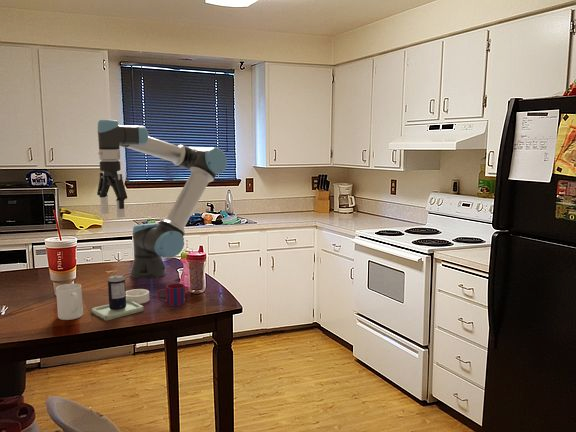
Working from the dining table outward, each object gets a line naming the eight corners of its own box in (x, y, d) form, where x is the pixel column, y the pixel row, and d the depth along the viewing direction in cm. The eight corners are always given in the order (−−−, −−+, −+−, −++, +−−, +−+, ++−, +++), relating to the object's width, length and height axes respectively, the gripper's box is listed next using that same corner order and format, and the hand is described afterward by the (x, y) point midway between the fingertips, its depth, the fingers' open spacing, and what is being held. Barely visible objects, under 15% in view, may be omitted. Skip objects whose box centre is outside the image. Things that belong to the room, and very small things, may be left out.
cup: (186, 305, 187) (186, 287, 186) (158, 308, 183) (158, 290, 182) (183, 299, 193) (182, 282, 192) (156, 303, 189) (155, 285, 188)
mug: (55, 315, 176) (53, 286, 174) (78, 310, 181) (77, 282, 179) (65, 325, 166) (63, 294, 165) (90, 320, 171) (88, 290, 170)
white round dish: (141, 295, 199) (141, 287, 198) (154, 300, 192) (153, 292, 192) (119, 300, 192) (118, 292, 192) (131, 306, 186) (130, 298, 185)
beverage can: (129, 307, 182) (127, 274, 180) (121, 312, 176) (119, 279, 174) (114, 306, 183) (113, 273, 181) (106, 311, 177) (104, 278, 176)
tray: (128, 303, 188) (128, 299, 188) (143, 310, 181) (143, 306, 180) (91, 312, 179) (91, 308, 178) (105, 320, 171) (105, 316, 171)
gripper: (86, 160, 202) (89, 213, 205) (115, 162, 184) (118, 220, 187) (104, 159, 207) (107, 211, 210) (134, 161, 189) (137, 217, 193)
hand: (112, 215), depth 199 cm, fingers open, 13 cm apart
